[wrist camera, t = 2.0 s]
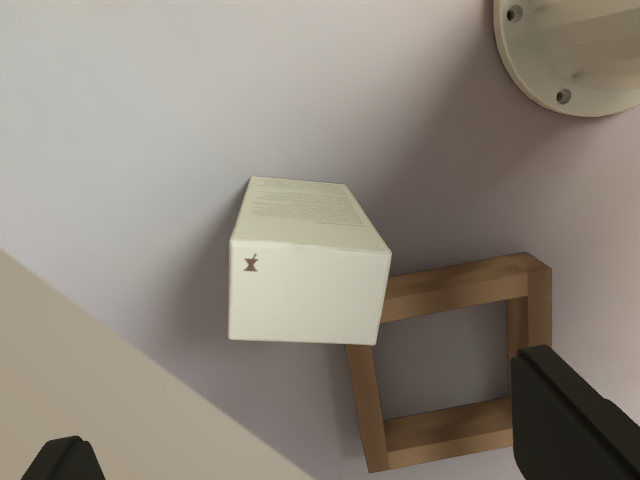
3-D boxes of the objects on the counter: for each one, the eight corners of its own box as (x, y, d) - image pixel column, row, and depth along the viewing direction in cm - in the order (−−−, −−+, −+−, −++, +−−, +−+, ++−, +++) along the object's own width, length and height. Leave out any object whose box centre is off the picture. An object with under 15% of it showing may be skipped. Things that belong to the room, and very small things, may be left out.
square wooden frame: (526, 251, 30) (551, 268, 27) (529, 409, 34) (551, 438, 31) (335, 287, 30) (340, 308, 27) (362, 441, 34) (368, 473, 31)
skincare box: (246, 241, 28) (221, 342, 17) (250, 174, 27) (225, 235, 16) (341, 248, 29) (378, 350, 18) (349, 183, 28) (395, 248, 16)
